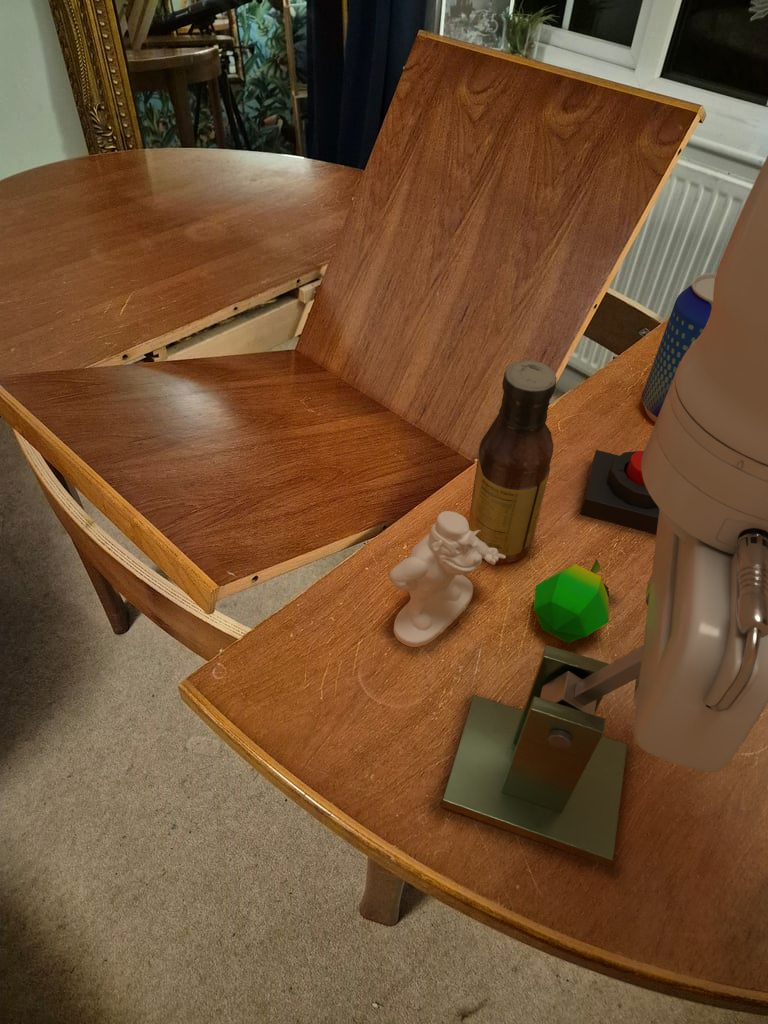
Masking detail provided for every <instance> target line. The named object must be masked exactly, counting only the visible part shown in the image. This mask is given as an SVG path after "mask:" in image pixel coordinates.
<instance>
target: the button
mask: <svg viewBox="0 0 768 1024" xmlns="http://www.w3.org/2000/svg"><path fill="white" fill-rule="evenodd" d="M637 451H638V452H636V453H634V454H633V455H632V457H631V459H630V462H629V465H628V467H627V470H626V473H627V476H628V478H629V479H630V480H632V481H633V482H635V483H636V484H638V485H641V486H645V483H644V480H643V476H642V470H641V462H642V456H643V453H644V450H637ZM645 487H646V486H645Z"/></svg>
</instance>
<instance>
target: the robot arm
mask: <svg viewBox="0 0 768 1024" xmlns="http://www.w3.org/2000/svg"><path fill="white" fill-rule="evenodd" d="M715 273H716V276H715V281H714V290H713V304H712V310H711V313H710V317H709V319H708V322H707V324H706V326H705V328H704V330H703V331H702V333H701V334H700V336H699V337H698V338H697V339H696V340H695V341H694V342H693V343H692V344H691V345H690V347H689V349H688V350H687V351H686V353H685V354H684V356H683V358H682V360H681V362H680V364H679V365H678V368H677V371H676V373H675V376H674V378H673V381H672V383H671V385H670V388H669V390H668V393H667V395H666V398H665V400H664V403H663V405H662V408H661V410H660V413H659V415H658V418H657V421H656V423H655V422H654V426H653V427H652V430H651V433H650V435H649V438H648V440H647V443H646V446H645V447H644V449H643V451H644V453H643V456H642V462H641V470H642V476H643V480H644V483H645V486H646V488H647V490H648V492H649V494H650V496H651V497H652V499H653V500H654V502H655V503H656V504H657V506H658V507H659V517H658V526H657V534H655V544H654V551H653V561H652V567H651V575H650V577H649V579H648V581H647V584H646V594H645V604H646V606H647V610H646V618H645V626H644V627H645V628H644V635H643V636H644V637H643V644H642V645H643V653H642V661H641V670H640V673H639V676H637V678H636V679H635V685H634V691H633V699H632V702H633V705H634V706H635V714H634V721H633V728H632V733H633V735H632V736H633V739H634V742H635V743H636V745H637V746H638V747H639V748H640V749H642V751H644V752H645V753H647V754H649V755H651V756H653V757H656V758H658V759H660V760H662V761H665V762H668V763H671V764H674V765H678V766H680V767H683V768H688V769H691V770H695V771H699V772H704V773H718V772H721V771H722V770H724V769H725V768H726V767H727V765H729V763H730V762H731V760H733V758H734V757H735V755H736V754H737V752H738V751H739V749H740V747H741V746H742V745H743V744H744V742H745V740H746V739H747V737H748V736H749V734H750V733H751V731H752V730H753V728H754V727H755V725H756V723H757V722H758V720H759V719H760V717H761V716H762V714H763V712H764V711H765V709H766V707H767V706H768V155H767V156H766V157H765V160H764V162H763V164H762V166H761V168H760V170H759V172H758V174H757V177H756V178H755V180H754V183H753V185H752V187H751V189H750V191H749V193H748V195H747V198H746V200H745V202H744V205H743V206H742V209H741V211H740V213H739V216H738V218H737V221H736V222H735V225H734V227H733V230H732V232H731V235H730V237H729V240H728V241H727V245H726V247H725V250H724V252H723V254H722V257H721V259H720V261H719V264H718V266H717V269H716V272H715Z"/></svg>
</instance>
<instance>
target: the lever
mask: <svg viewBox="0 0 768 1024" xmlns="http://www.w3.org/2000/svg"><path fill="white" fill-rule="evenodd" d="M642 653H643V644H642V645H640V646H639V647H637V648H635V649H634V650H632V651H630V652H629V653H627V654H625V655H623V656H621V657H620V658H617V659H616V660H615V661H613V662H611V663H608V664H609V665H607V666H605V667H604V668H602V669H600V670H598V671H597V672H595V673H593V674H591V675H590V676H588V677H586V678H584V679H581V678H579V677H578V676H576V675H575V674H573V673H571V672H570V671H567V672H565V673H564V674H562V675H560V676H559V677H557V678H555V679H554V680H552V681H550V682H549V683H547V684H545V685H544V686H543V687H542V691H541V696H540V698H542V699H545V700H548V701H551V702H554V703H558V704H561V705H564V706H567V707H570V708H573V709H576V710H580V711H583V712H586V713H589V714H592V715H595V714H596V712H595V707H596V701H597V699H599V698H600V697H602V696H603V697H604V696H606V695H608V694H611V693H612V692H614V691H615V690H618V689H620V688H622V687H624V686H626V685H627V684H629V683H631V682H633V681H636V678H637V676H639V673H640V670H641V661H642ZM603 697H602V698H603ZM594 713H595V714H594Z"/></svg>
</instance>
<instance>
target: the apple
mask: <svg viewBox="0 0 768 1024" xmlns="http://www.w3.org/2000/svg"><path fill="white" fill-rule="evenodd" d="M601 570H602V569H601V566H600V563H599V561H598V559H596V560H595V562H594V563H593V565H592V567H591V569H590V570H588V569H587V568H585V567H582V566H580V565H578V564H576V563H574V564H573V565H570V566H568V567H567V568H566V567H565V568H564V569H562V570H560V571H558V572H556V573H555V574H553V575H551V576H549V577H548V578H546V579H545V580H544V579H543V580H542V581H541V582H539V583H537V584H535V591H534V602H533V611H534V613H535V615H536V618H537V620H538V623H539V625H540V627H541V630H542V631H544V632H546V633H547V634H550V635H552V636H553V637H555V638H557V639H559V640H561V641H562V642H565V643H566V644H570V643H571V642H572V643H573V642H575V641H579V640H580V639H583V638H586V637H588V636H589V635H591V634H593V633H594V632H595V631H597V630H599V629H600V628H602V627H604V626H605V625H607V624H608V623H609V622H610V619H609V617H610V616H609V615H610V613H609V612H610V611H609V610H610V609H609V603H610V602H609V600H611V597H610V589H609V587H608V586H607V585H606V583H605V582H604V580H603V578H602V576H601V575H599V574H598V572H600V571H601Z"/></svg>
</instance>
